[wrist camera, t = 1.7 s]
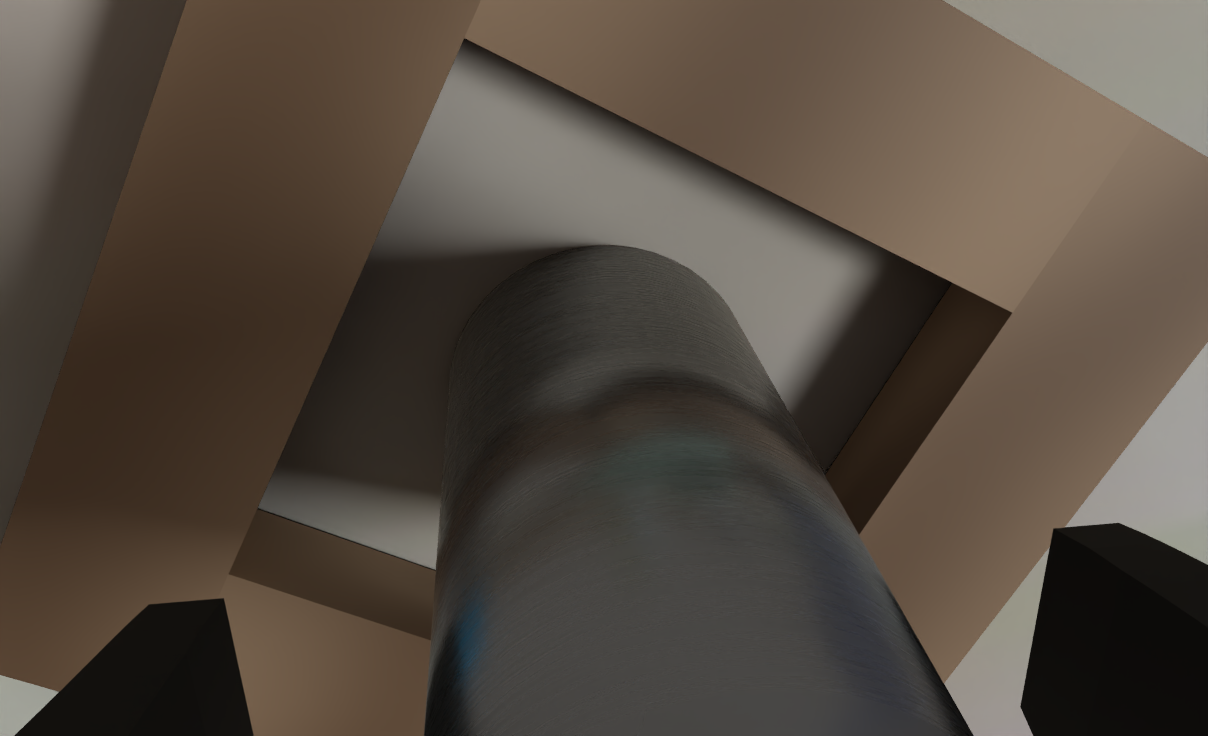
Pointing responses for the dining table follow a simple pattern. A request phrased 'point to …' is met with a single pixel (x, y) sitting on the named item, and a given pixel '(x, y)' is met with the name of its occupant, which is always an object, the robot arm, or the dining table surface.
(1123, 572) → the robot arm
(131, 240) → the brown square frame
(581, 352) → the metal axle
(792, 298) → the dining table surface
